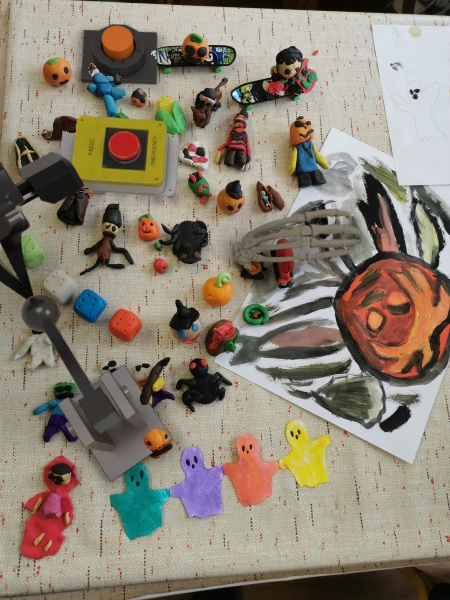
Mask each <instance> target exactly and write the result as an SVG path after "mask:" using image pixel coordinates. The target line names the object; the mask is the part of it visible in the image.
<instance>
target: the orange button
mask: <svg viewBox="0 0 450 600" xmlns="http://www.w3.org/2000/svg"><path fill="white" fill-rule="evenodd" d="M102 43H103V48H104V52H105V54H106V55H107V56H108V57H110V58H111V59H114V60H123V59H126V58H128V57H129V56H130V55H131V54H132V53H133V50H134V44H133V37H132V34H131V32H130V31H129V30H128V29H126V28H125V27H122V26H112V27H110V28H108V29H106V30H105V31H104V33H103V35H102Z"/></svg>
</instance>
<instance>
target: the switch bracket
mask: <svg viewBox="0 0 450 600" xmlns="http://www.w3.org/2000/svg"><path fill="white" fill-rule="evenodd" d="M98 378H99V380H98V381H96V382H95V383H93V384H92V385H93V387H94V388H95V389H97V388H98V387H101V389H102V390H103V391H104V392H105V394H106V395H107V396H108V398H109V400H110V401H111V403H112V404H113V406H114V408H115V409H116V411H117V413H118V414H119V416H120V417H121V419H122V420H121V421H119V422H118V423H116V424H115V425H113V426H112V427H110V428H109V429H107V430H106V431H104V432H103V433H101V434H100V433H99V432H98V431H97V430H96V429H95V428H94V427H93V426H92V425H91V423H90V421H89V420H88V418H87V416H86V414H85V413H84V411H83V409H82V408H81V406H80V404H79V403H78V400H80V399H81V398H83V397H84V396H83V395H82V393H81V392H80V393H78V394H77V395H75V396H74V397H72V398H70V397H65V398H64V399H63V400H61V401H59V402H58V403H57V405H58V407H59V409H60V410H61V412H62V414H63V416H64V417H65V419H66V420H67V422H66V423H65V427H66V429H67V430H68V432H69V434H70V435H71V436H72V437H73V438H76V437H77V438H78V440H79V441H80V443H81V445H82V447H83V448H84V449H89V450H90V452H91V453H92V456H94V458H95V460H96V461H97V462H98V465H99V466H100V468H101V469H102V471H103V473H104V474H105V476H106V477H107V479H108V481H109V482H110V483H112V482H114V481H115V480H117V479H118V478H119V477H121V476H122V475H124V474H125V473H126V472H128V471H130V470H131V469H133V468H134V467H135V466H137V465H138V464H140V463H141V462H143V461H144V460H145V459H147V458H148V457H149V456H151V455H153V454H154V453H153V452H152V451H150V449H149V448H147V446H146V445H145V444H144V440H143V439H144V437H145V436H146V435H147V434H148V433H149V432H150V431H151V430H153V429H159V430H162V431H164V432H165V433H166V434H167V436H168V437H167V439H168V440H167V442H166V443H167V444H169V442H171V441H172V440H173V437H172V435H171V434H170V432H169V431H168V429H167V428H166V426H165V424H164V423H163V421H162V420H161V418H160V417H159V415H158V413H157V412H156V411H155V409H154V408H153V406H152V405H151V402H149V404H148V405H142V404H141V402H140V395H141V393H142V392H143V391H142V389H141V387H140V386H139V384H138V382H137V381H136V380H135V378H134V377H133V375H132V374H131V372H130V371H129V369H128V368H127V366H126V365H125V364H123V365H122V366H119V368H117V369H115V370H114V371H112V372H111V371H110V370H107V371H106V372H104V373H102V374H100V375H99V377H98Z"/></svg>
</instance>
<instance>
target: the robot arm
mask: <svg viewBox="0 0 450 600" xmlns="http://www.w3.org/2000/svg"><path fill="white" fill-rule="evenodd" d="M18 170H19V172H20V174H21V176H22V177H23V179H22V180H20V181H18V182H16V183H14V180H13V179H12V177H11V175H10V174H9V173H8V171H7V170H6V168H5V166H4V165H3V164H2V162H1V161H0V246H1V248H2V250H3V252H4V254H5V255H6V259H8V262H9V263H10V266H11V268H12V270H13V271H14V272H13V271H12V270H11V269H10V268H9V267H8V265H7V264H6V263H5V262H4V260H2V259H1V258H0V283H2V284H3V285H4V286H5V287H7V288H9V289H10V290H12V291H13V292H15V293H16V294H17V295H19V296H20V297H21V298H23V299H25V300H27V299H28V298H30V297H32V296H33V295H35V294H34V290H33V287H32V284H31V280H30V276H29V273H28V269H27V266H26V261H25V258H24V251H23V250H24V249H23V243H22V241H23V240H22V238H23V233H24V232H26V231H27V230H28V229H30V228H31V223H30V221H29V220H28V219H27V217H26V216H25V213H23V212H24V210H23V209H22V207H23V206H25V205H26V204H28V203H30V202H33V201H34V200H36V199H37V198H38V199H39V201H41V202H45V203H48V204H52V205H56V204H57V203H60V202H61V201H63V200H64V199H66V198H68V197H70V196H72V195H73V194H76V193H78V192H77V191H79V190H80V189H81V188H82V187H83V186H84V183H83V182H82V180H81V178H80V176H79V174H78V173H77V171H76V169H75V168H74V166H73V165H72V163H71V162H70V161H69V160H67V159H66V158H65V157H63V156H62V155H60V153H57V152H54V151H50V152H48V153H46V154H44V155H42V156H41V157H38V158H37V159H35V160H33V161H31V162H29V163H27V164H26V165H24V166H22V167H20V168H18ZM14 273H15V274H14Z"/></svg>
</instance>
